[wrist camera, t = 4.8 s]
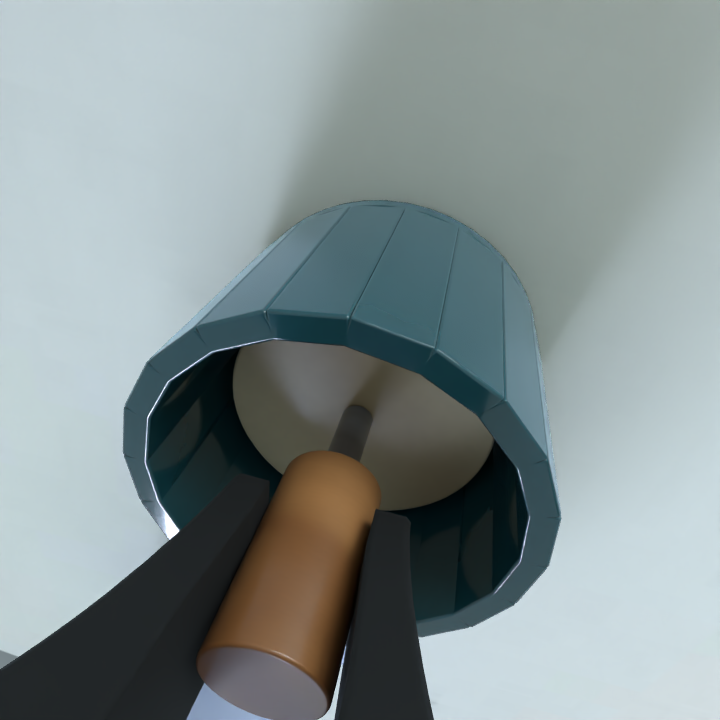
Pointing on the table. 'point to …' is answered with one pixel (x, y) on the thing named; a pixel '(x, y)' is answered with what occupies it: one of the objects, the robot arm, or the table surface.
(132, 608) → the robot arm
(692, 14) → the table surface
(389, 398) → the disc with orange handle
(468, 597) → the teal drum lampshade
